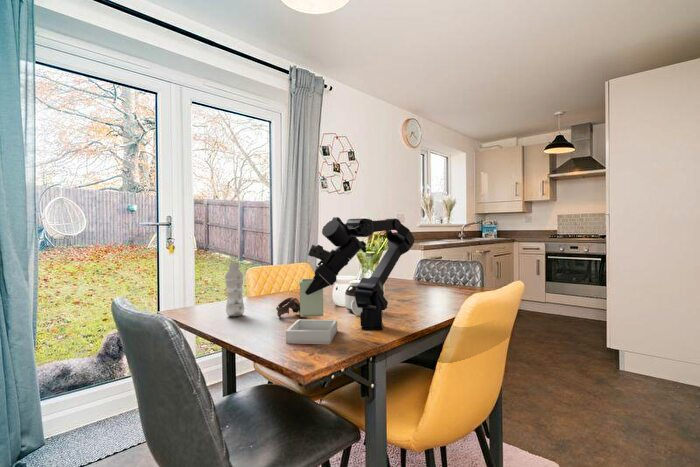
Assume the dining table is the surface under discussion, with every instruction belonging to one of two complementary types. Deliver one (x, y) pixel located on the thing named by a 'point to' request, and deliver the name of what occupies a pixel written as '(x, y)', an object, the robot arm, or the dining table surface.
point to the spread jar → (352, 298)
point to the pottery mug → (288, 306)
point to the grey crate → (311, 332)
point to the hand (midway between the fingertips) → (307, 291)
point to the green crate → (310, 300)
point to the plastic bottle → (234, 290)
